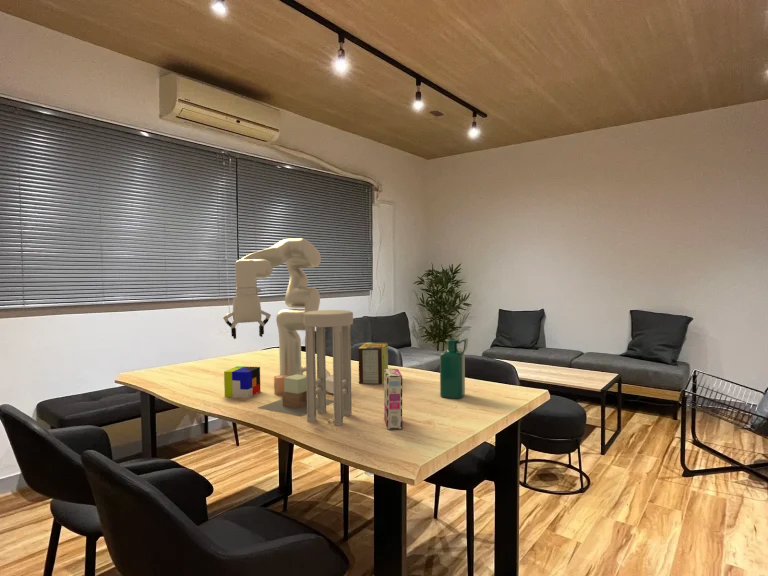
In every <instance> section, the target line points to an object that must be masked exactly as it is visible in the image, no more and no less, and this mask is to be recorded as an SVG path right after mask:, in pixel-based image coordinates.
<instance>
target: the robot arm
mask: <svg viewBox="0 0 768 576" xmlns="http://www.w3.org/2000/svg"><path fill="white" fill-rule="evenodd" d="M321 258H322V257H321V253H320V251H319V250H318V249H317V247H316V246H314V245H313V244H312V243H311V242H310V241H309V240H307V239H305V238H303V237H295V238H291V237H290V238H283V239H281V240H280V241H277V242H276V243H275V244H273V245H271V246H269V247H268V248H264V249H262V250H258V251H255V252H252V253H250V254H247V255H245V256H243V257H241V258H240V259H238V260H236V261H235V270H234V271H235V293H236V294H235V296H233V303H232V311H231V312H229V313H227V314H225V315H224V316H223V317H222V319H223V320H224V322H225V323H226V324H227V326H229V327H230V328H231V329H230V330H231V337H232V338H233V339H234V340H236V339H237V328H236V326H237V325H238V324H240V323H241V324H242V323H243V324H244V323H259V326H258V332H259V333H258V336H259V337H260V338H262V337H263V335H264V334H265V326H266V324H267V323H268V322H269V320H270V318H271V316H272V314H270V313H269V312H267V311H264V310H262V306H261V299H260V296H259V295H258V293H261V292H262V291H261V289H262V288H258V287H257V283H258V282H257V279H267V278H268V277H270V276H271V275H272V273H273V271H274V269H273V268H276V267H280V266H282V265H283V264H284V263H285V266H286V268H287V271H288V275H289V281H288V285H287V289H286V293H285V297H284V303H285V305H286V306H287V307H288V308H284V309H280V311H278V313H277V314H276V316H275V317H276V319H275V320H276V326H277V330H278V342H279V344H278V346H279V347H278V348H279V349H278V350H279V354H278V355H279V375H288V376H292V375H295V374H299V375H304V372H305V373H306V366H305V367H302V339H301V337H300V334H299V333H298V331H305V325H304V313H305V312H309V311H319V310H320V309H319V308H320V304H321V294H320V292H319V290H318V289H317V288H315V287H312V286H308V283H309V279H308V276H307V274H306V273H305V271H304V270H303V268H304V269H306V268H312V269H313V268H317V267H318V266H319V265H320V264H321V261H322V260H321ZM262 315H264V316H265V318H264V319H263V320H262ZM231 317H232V320H233V321H232V322H230V321H229V318H231Z"/></svg>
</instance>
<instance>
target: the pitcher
mask: <svg viewBox="0 0 768 576" xmlns="http://www.w3.org/2000/svg"><path fill="white" fill-rule="evenodd" d="M444 341H445V342H447V349H445V350H444V351H442V352H441V353H440V355H439V388H440V389H439V390H440V391H439V393H440V397H441V398H444V399H454V400H460V399H462V398H463V397H465V394H466V376H465V375H466V368H465V367H466V365H465V364H466V358H465V357H466V356H465V355H466V354H465V352H466V351H467V349H468V344H469V343H468V342H469V339H468V338H467V337H466V338H463V339H462V340H460V339H458V338H446V339H445V340H444ZM462 342H464V343H463V350H459V349H458V344H461V343H462Z"/></svg>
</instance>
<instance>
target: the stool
mask: <svg viewBox="0 0 768 576" xmlns="http://www.w3.org/2000/svg"><path fill="white" fill-rule="evenodd" d="M304 325H305V367H306V371H305V375H306V384H307V414H306V421H307V422H309V423H315V422H316V421H317V414H325V413H326V412H327V406H326V399H327V392H326V370H327V369H326V328H331V327H332V328H331V329H332V370H333V371H332V374H333V388H334V393H333V401H334V403H333V425H335V426H338V425H339V426H342V425H343V424H344V416H345V417H346V416H347V417H351V415H352V412H353V411H352V406H353V405H352V404H353V403H352V349H351V347H352V346H351V342H352V341H351V325H354V313H353V312H352V311H351V310H346V309H345V310H344V309H339V310H338V309H326V310H325V309H324V310H323V309H321V310H320V309H318V311H309V312H305V313H304ZM316 398H317V402H318V409H317V410H316Z"/></svg>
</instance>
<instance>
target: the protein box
mask: <svg viewBox="0 0 768 576" xmlns="http://www.w3.org/2000/svg"><path fill="white" fill-rule="evenodd" d="M388 345H389V344H388V342H365V343H363V344H362V345H361V346H359V347H358V350H357V351H358V352H357V354H358V384H360V385H362V384H363V385H384V369H389V352H388V351H389V346H388Z"/></svg>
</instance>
